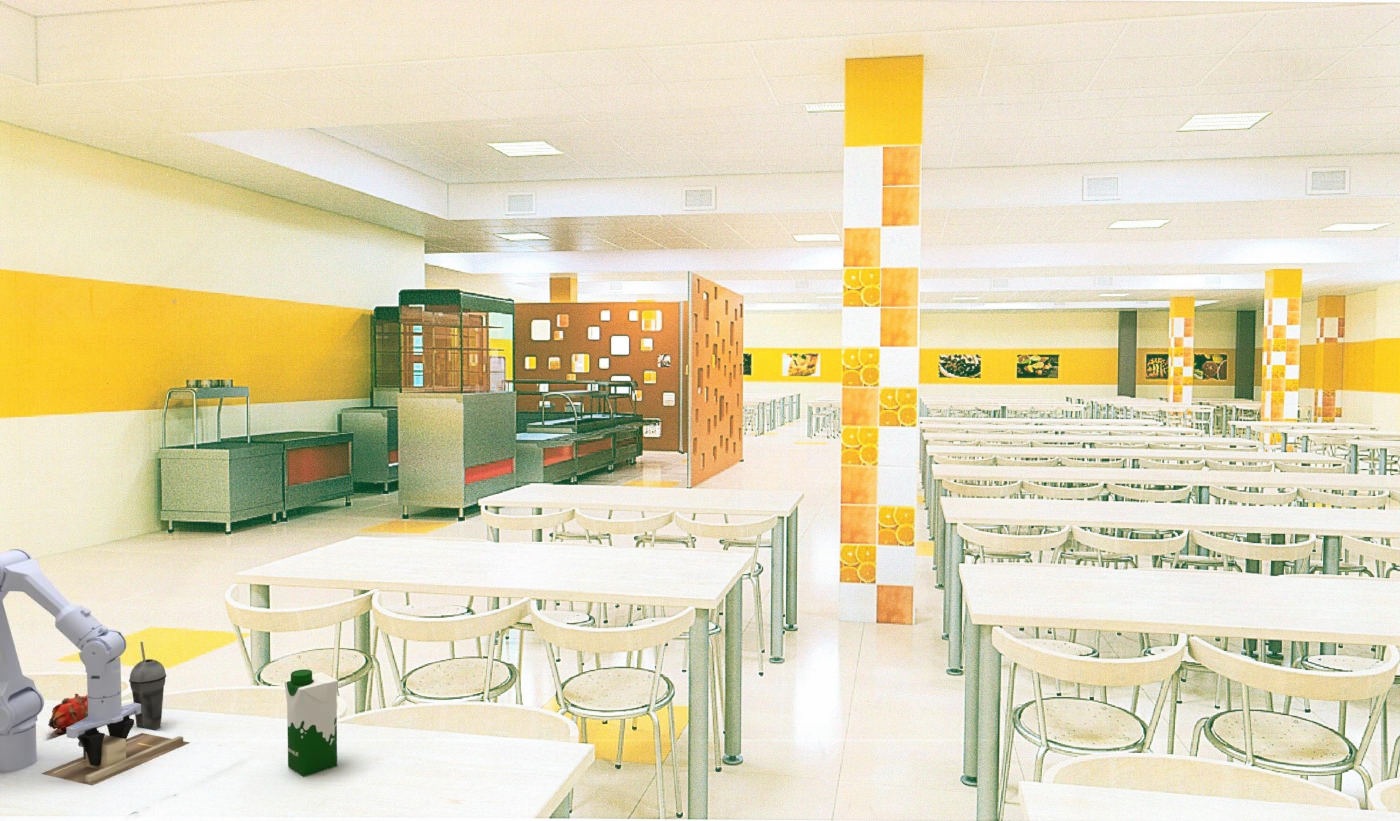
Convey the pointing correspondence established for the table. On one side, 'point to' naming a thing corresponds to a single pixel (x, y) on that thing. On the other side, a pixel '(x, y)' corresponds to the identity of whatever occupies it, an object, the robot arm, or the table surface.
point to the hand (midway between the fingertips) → (106, 760)
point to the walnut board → (136, 754)
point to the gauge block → (109, 751)
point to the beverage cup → (148, 691)
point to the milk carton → (311, 721)
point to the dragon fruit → (69, 713)
